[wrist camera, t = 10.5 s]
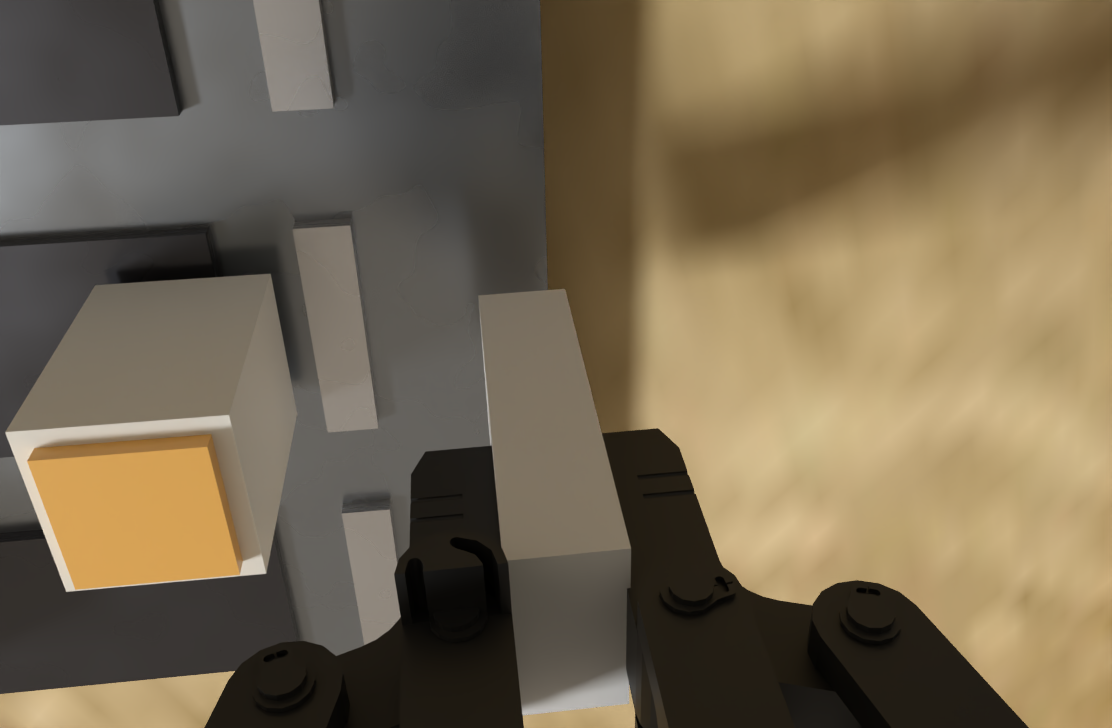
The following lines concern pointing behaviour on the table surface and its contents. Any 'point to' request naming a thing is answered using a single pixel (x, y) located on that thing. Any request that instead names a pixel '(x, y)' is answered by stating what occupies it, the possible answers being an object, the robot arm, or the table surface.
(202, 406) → the block
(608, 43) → the table surface
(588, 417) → the robot arm
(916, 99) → the table surface
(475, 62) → the panel
